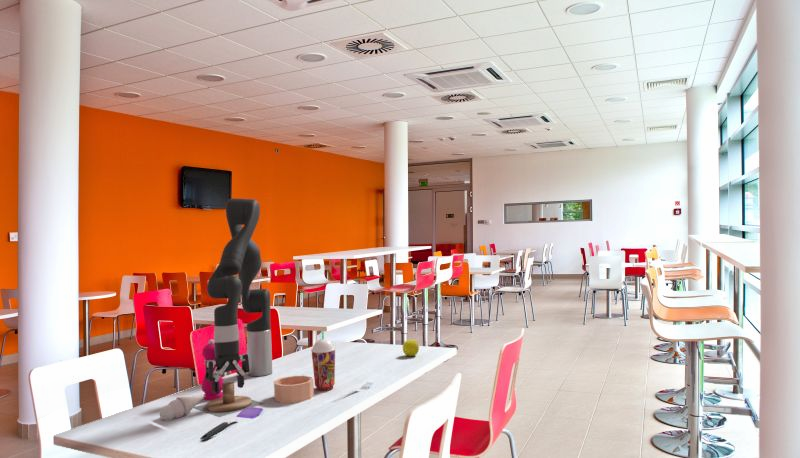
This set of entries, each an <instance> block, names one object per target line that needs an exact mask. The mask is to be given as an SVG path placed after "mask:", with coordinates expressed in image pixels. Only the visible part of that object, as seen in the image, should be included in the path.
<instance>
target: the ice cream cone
mask: <svg viewBox="0 0 800 458" xmlns="http://www.w3.org/2000/svg"><path fill="white" fill-rule="evenodd" d="M204 397H205V396H203V395H196V396H181V397H180V396H178V397H176V399H173V400H171V401H170V402H169V403H168V404H167V405H164V406H162V407H161V408H160V411H159V417H160V419H161V420H162V421H171V420H173V419H177V418H179V419H180V418H182V417H183V416H187V415H189V413H190V412H191V411H192V410H193V409H195V408H194V407H196V406H197V405H198V404H199V403H200V402H201V401H202V400H204Z"/></svg>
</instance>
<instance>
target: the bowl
mask: <svg viewBox="0 0 800 458" xmlns="http://www.w3.org/2000/svg"><path fill="white" fill-rule="evenodd" d="M314 390H315V389H314V379H313V378H312V376H307V375H293V376H292V375H290V376H284V377H280V378H277V379H276V380H274V381H273V396H274V400H275V401H274V402H278V403H281V404H284V403H286V404H295V403H302V402H305V401H309V400H311V399H312V398H314V397H315V395H314V393H315V391H314Z"/></svg>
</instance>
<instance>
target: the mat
mask: <svg viewBox="0 0 800 458" xmlns="http://www.w3.org/2000/svg"><path fill="white" fill-rule="evenodd" d="M265 404H266V403H264V402H261V401H257V400H254V399H252V404H251V405H250V406H248V407H246V408H250V407H259V406H262V405H265ZM246 408H244V409H246ZM193 409H195V410H197V411H202V412H204V413H206V414H210V415H213V416H215V417H218V418H222V417H225V416H228V415H231V414H233V413H234V414H235V413H238V412H241V411H242V410H244V409H241V410H236V411H231V412H210V411H207V410H206V403H204V404H200V405H198V406H197V405H196V406H195V407H194V408H193Z"/></svg>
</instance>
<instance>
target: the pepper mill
mask: <svg viewBox="0 0 800 458" xmlns="http://www.w3.org/2000/svg"><path fill="white" fill-rule="evenodd" d="M201 353H202V354H201V355H202V357H203V358H204V360H203V361H204V362H203V364H204V366H206V361H214V360H215V347H214V339H212V338H211V339H209V340H208V344H206V345H205V346H204V347H203V348H202V350H201ZM216 367H217V366H216V365H214V368H213V374H214V370H215V369H216ZM203 376H204V377H203V379H202V382H201V391H202V392H203V393H204V394H202V396H205V397H204V398H203V400H204V401H212V400H214V399H218V398H222V397H223V393H222V384H223V383H225V382H224V379H223V377H222V376H223V375H222V376H220V378H219V380H218V382H219V394H214V392H212V382H211V381H208V380H206V379H205V375H203Z"/></svg>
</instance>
